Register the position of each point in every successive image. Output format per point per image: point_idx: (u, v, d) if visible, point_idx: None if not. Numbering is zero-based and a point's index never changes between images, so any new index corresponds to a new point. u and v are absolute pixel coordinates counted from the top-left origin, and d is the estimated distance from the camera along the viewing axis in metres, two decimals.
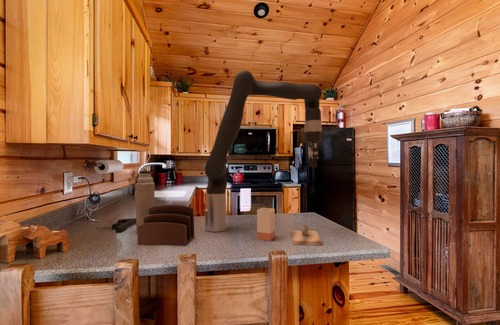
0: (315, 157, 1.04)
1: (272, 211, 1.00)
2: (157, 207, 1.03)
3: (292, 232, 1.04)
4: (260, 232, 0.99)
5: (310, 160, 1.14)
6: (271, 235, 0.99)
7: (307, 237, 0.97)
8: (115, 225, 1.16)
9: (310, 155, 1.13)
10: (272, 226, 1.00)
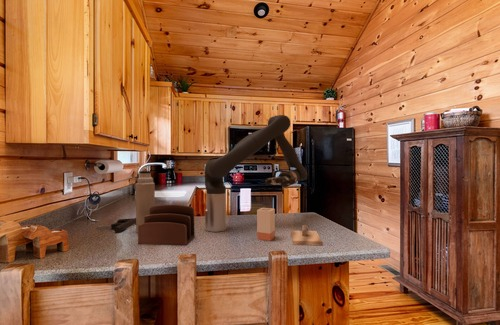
0: (291, 182, 1.11)
1: (272, 211, 1.00)
2: (158, 207, 1.04)
3: (292, 232, 1.04)
4: (260, 232, 0.99)
5: (269, 180, 1.15)
6: (271, 235, 0.99)
7: (307, 237, 0.97)
8: (114, 225, 1.15)
9: (273, 179, 1.17)
10: (272, 226, 1.00)
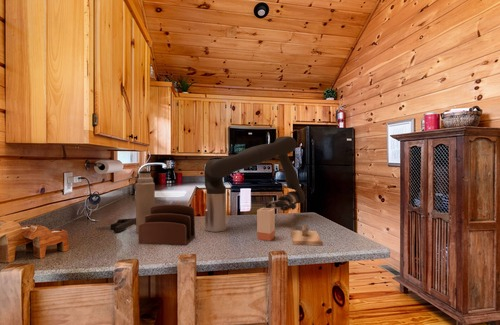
0: (291, 207, 1.12)
1: (272, 211, 1.00)
2: (158, 207, 1.04)
3: (292, 232, 1.04)
4: (260, 232, 0.99)
5: (270, 204, 1.16)
6: (271, 235, 0.99)
7: (307, 237, 0.97)
8: (114, 225, 1.15)
9: (273, 203, 1.17)
10: (272, 226, 1.00)
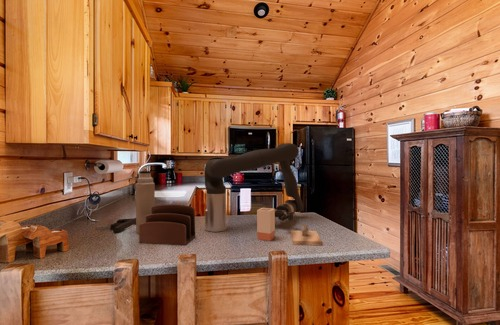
0: (289, 217, 1.10)
1: (272, 211, 1.00)
2: (159, 206, 1.04)
3: (292, 232, 1.04)
4: (260, 232, 0.99)
5: None
6: (271, 235, 0.99)
7: (307, 237, 0.97)
8: (113, 225, 1.15)
9: None
10: (272, 226, 1.00)
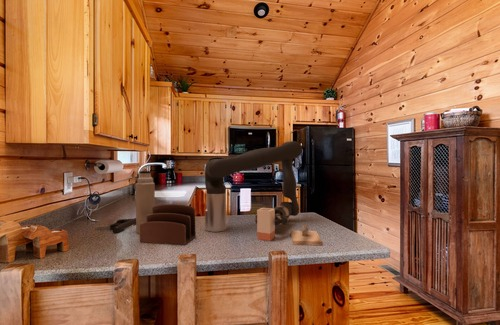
0: (283, 221, 1.02)
1: (272, 211, 1.00)
2: (160, 206, 1.05)
3: (292, 232, 1.04)
4: (260, 232, 0.99)
5: None
6: (271, 235, 0.99)
7: (307, 237, 0.97)
8: (113, 225, 1.15)
9: None
10: (272, 226, 1.00)
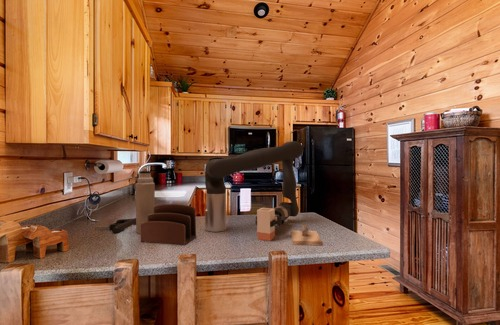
0: (278, 222, 1.01)
1: (272, 211, 1.00)
2: (161, 206, 1.05)
3: (292, 232, 1.04)
4: (260, 232, 0.99)
5: None
6: (271, 235, 0.99)
7: (307, 237, 0.97)
8: (113, 225, 1.15)
9: None
10: None
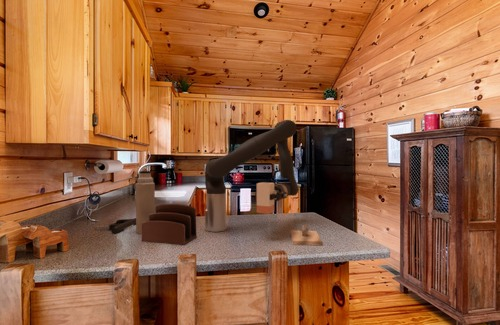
0: (278, 196, 1.01)
1: (272, 185, 1.00)
2: (162, 206, 1.06)
3: (292, 232, 1.04)
4: (260, 206, 0.99)
5: None
6: (270, 208, 0.99)
7: (307, 237, 0.97)
8: (112, 226, 1.14)
9: None
10: (271, 200, 1.00)
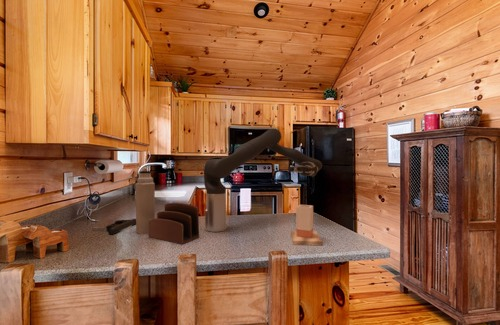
0: (314, 169, 1.18)
1: (311, 208, 0.98)
2: (170, 204, 1.09)
3: (292, 232, 1.04)
4: (300, 229, 0.97)
5: (293, 168, 1.21)
6: (311, 232, 0.97)
7: None
8: (109, 227, 1.13)
9: (295, 167, 1.23)
10: (311, 223, 0.98)
